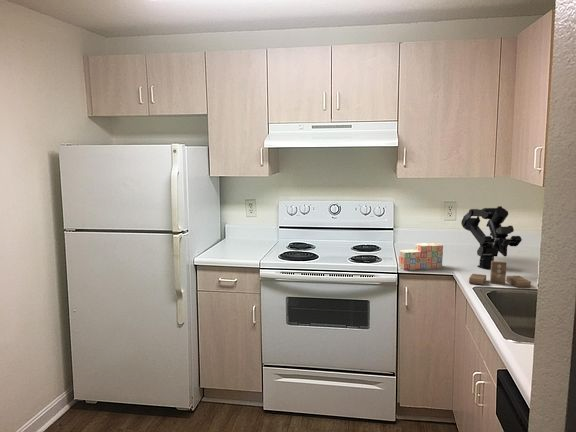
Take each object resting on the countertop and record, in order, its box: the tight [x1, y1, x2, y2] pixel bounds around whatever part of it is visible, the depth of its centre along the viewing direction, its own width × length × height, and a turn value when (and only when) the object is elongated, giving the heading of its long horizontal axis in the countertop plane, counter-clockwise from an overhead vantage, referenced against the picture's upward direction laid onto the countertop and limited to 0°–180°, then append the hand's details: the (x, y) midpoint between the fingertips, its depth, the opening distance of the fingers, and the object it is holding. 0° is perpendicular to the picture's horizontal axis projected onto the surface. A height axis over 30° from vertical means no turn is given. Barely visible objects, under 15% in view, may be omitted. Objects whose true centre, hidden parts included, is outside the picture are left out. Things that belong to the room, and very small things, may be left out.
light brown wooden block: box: [489, 260, 507, 285], centre depth 219 cm, size 3×6×10 cm, turn 77°
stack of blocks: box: [398, 242, 444, 271], centre depth 248 cm, size 21×6×12 cm, turn 102°
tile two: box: [505, 275, 532, 288], centre depth 218 cm, size 3×6×10 cm
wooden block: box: [468, 273, 487, 286], centre depth 222 cm, size 3×6×10 cm
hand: (505, 256), depth 229 cm, fingers closed
